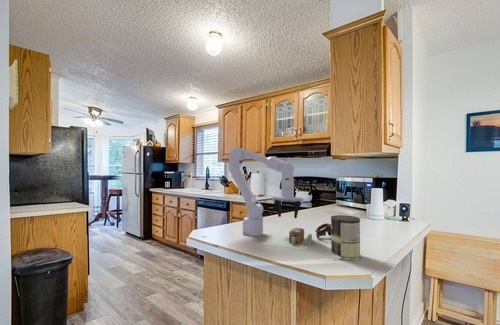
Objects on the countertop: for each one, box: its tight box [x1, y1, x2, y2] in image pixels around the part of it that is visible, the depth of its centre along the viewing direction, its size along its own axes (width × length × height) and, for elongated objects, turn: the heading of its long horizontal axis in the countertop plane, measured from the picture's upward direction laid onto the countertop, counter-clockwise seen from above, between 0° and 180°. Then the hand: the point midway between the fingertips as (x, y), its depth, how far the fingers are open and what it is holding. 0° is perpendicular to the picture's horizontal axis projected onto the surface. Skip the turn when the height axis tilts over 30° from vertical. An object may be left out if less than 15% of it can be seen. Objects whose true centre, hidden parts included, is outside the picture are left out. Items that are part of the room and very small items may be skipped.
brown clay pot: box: [314, 222, 331, 239], centre depth 116 cm, size 12×10×8 cm
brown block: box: [288, 227, 305, 244], centre depth 107 cm, size 4×8×5 cm, turn 155°
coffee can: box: [330, 214, 361, 261], centre depth 92 cm, size 10×10×14 cm
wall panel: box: [261, 233, 314, 251], centre depth 106 cm, size 18×18×4 cm
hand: (287, 217), depth 116 cm, fingers open, 7 cm apart
